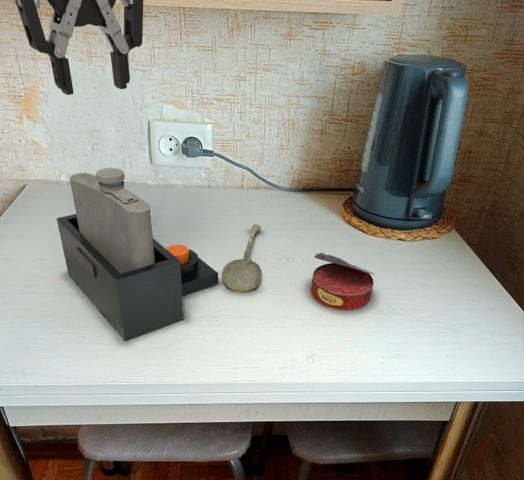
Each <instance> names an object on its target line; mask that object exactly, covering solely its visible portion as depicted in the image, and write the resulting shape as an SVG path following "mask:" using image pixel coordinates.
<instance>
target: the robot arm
mask: <svg viewBox="0 0 524 480" xmlns="http://www.w3.org/2000/svg"><path fill="white" fill-rule="evenodd" d="M46 1H47V3H48V4H49V5H50V6H51V8H52V9H53V10H52V14H51V17H50V22H49V34H48V39H46V35H45V32H44V29H43V25H42V22H41V20H40V15H39V12H38V9H39V8H40V7H41V0H14V2H15V5H16V8H17V11H18V14H19V17H20V21H21V23H22V26H23V29H24V32H25V36H26V38H27V42H28V44H29V46H30V47H31V48H32V49H34V50H36V51H37V52H38V53H41V54H45V55H48V57H49V59H50V65H51V69H52V76H53V80H54V81H53V82H54V84H55V86H56V87H57V88H58V89H59V90H61V92H62V93H63V94H65V95H66V96H71V95H74V93H75V92H74V86H73V80H72V79H73V78H72V73H71V69H70V67H71V66H70V62H69V58H68V57H66V53H67V50H68V45H69V41H70V38H72V36H73V33H74V29H75V28H77V27H78V28H81V27H82V28H83V27H85V26H89V25H90V26H95V27H98V28H99V29H100V32H102V33H103V35H104V37H105V38H106V40H107V42H108V44H109V46H110V48H111V49H112V51H110V52H109V53H110V61H111V69H112V70H111V71H112V80H113V84H114V87H115V88H117V89H120V90H126V89H127V88H128V84H130V80H131V73H130V64H129V63H130V62H129V52H130V51H132V50H133V49H135V48H140V47H141V46H142V45H143V32H144V31H143V30H144V0H120V3H121V6H123V32H122V27H121V25H120V23H119V21H118V19H117V17H116V15H115V13H114V11H113V8H114V6H115V4H116V1H117V0H46Z"/></svg>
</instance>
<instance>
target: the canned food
mask: <svg viewBox="0 0 524 480" xmlns="http://www.w3.org/2000/svg"><path fill="white" fill-rule="evenodd" d="M313 258H315V259H317V260H320V261H324V262H327V263H325V264H322V265H320V266H318V267H316V268H315V269H314V271H313V273H312V279H311V287H310V294H311V296H312V298H313V299H314V301H316V302H317V303H318V304H320V306H323V307H325V308H328V309H331V310H336V311H345V312H350V311H357V310H360V309H363V308H364V307H366V306H367V305H368V304H369V302H370V300H371V296H372V292H373V287H374V283H375V282H374V281H375V280H374V278H373V276H375V275H376V274H375V273H374V272H373V271H370V270H368V269H365V268H362V267H360V266H357V265H354V264H352V263H349V262H347V261H346V260H343V259H342V258H339V257H338V256H334V255H331V254H326V253H324V252H318V253H316V254H315V255H314V256H313ZM372 275H373V276H372Z"/></svg>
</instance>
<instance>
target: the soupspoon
mask: <svg viewBox="0 0 524 480" xmlns="http://www.w3.org/2000/svg"><path fill="white" fill-rule="evenodd" d="M261 230H262V228H261V225H260V224H258V223H254V224H252V226H251V234H250V235H249V239H248V242H247V245H246V248H245V251H244V254H243V257H242V258H239V259H233V260H232V261H230V262H228V263H226V264H225V266H224V267H223V270H222V273H221V280H222V283H223V284H224V285H225V286H226V287H227V288H228V289H230V290H232V291H233V292H236V293H247V292H251V291H253V290H254V289H256V288H257V287H258V285H259V284H260V282H261V280H262V274H263V273H262V269H261V267H260V265H259V263H257V262H255V261H254V260H251V259H250V254H251V249H252V245H253V242H254V239H255V235H256V234H257V233H260V232H261Z"/></svg>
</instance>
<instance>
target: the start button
mask: <svg viewBox="0 0 524 480" xmlns="http://www.w3.org/2000/svg"><path fill="white" fill-rule="evenodd" d="M166 249H167V250H168V251H169V252H170V253H171V254H173V255H174V256H175V257H176V258H177V259H178V260H180V264H182V263H186V262H188V261H189V247H188V246H186V245H183V244H172V245H169V246H167V247H166Z"/></svg>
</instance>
